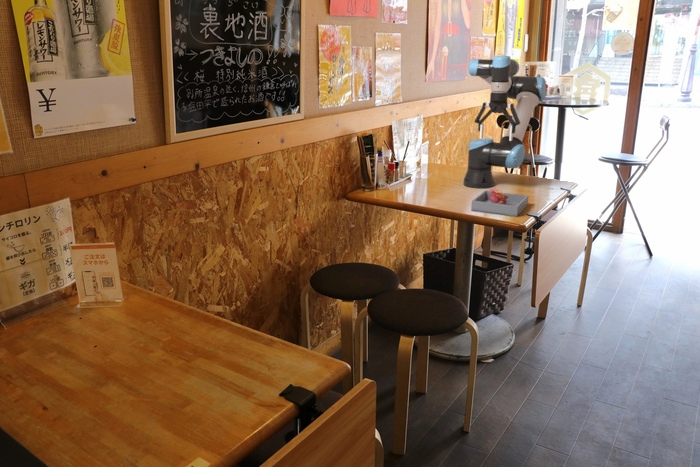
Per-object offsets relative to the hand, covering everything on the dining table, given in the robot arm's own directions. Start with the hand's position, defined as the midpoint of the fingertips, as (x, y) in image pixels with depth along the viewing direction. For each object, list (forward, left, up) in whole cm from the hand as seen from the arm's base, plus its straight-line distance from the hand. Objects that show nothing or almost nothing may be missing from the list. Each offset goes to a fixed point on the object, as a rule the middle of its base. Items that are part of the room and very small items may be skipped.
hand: (495, 139), depth 263 cm
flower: (+8, -19, -26) cm, 33 cm away
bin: (+9, -19, -27) cm, 34 cm away
